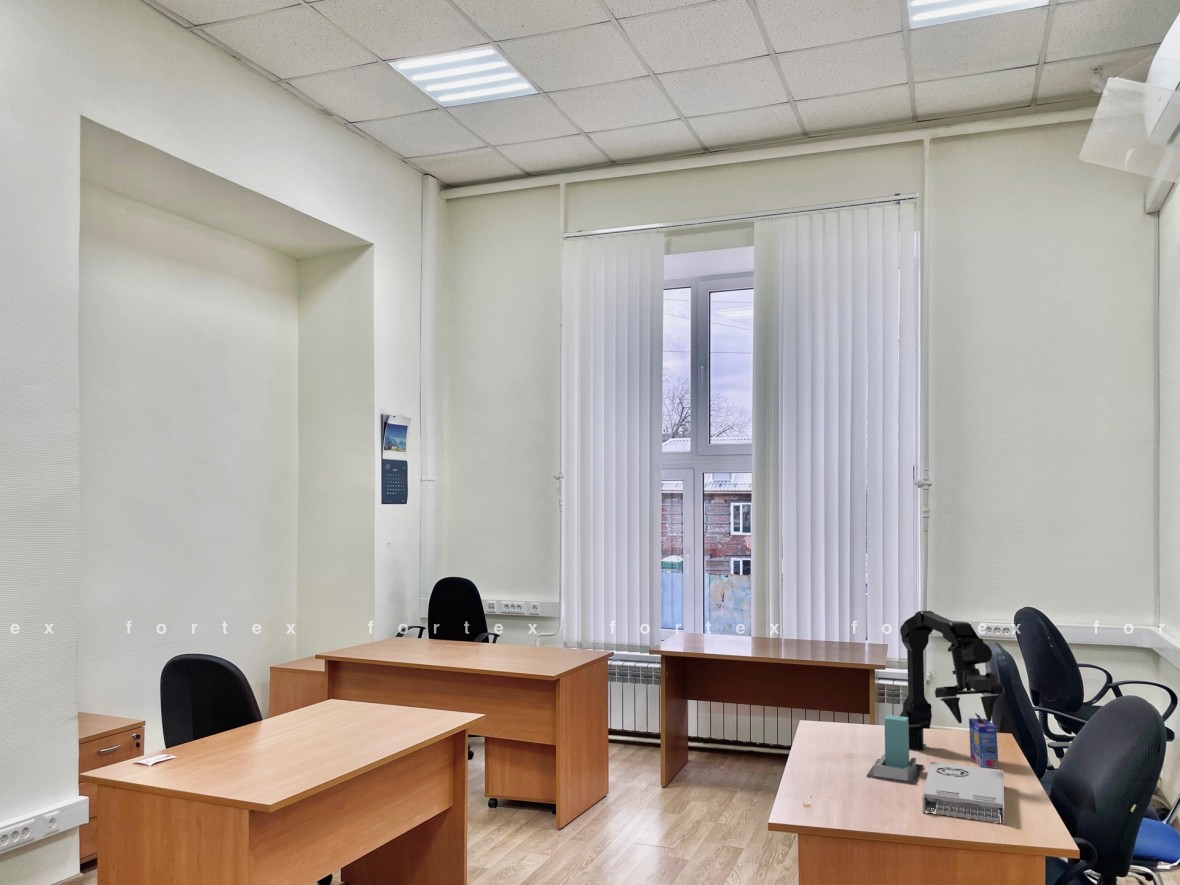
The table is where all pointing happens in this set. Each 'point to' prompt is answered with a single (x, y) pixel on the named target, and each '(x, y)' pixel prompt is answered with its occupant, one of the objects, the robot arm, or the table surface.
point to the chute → (896, 771)
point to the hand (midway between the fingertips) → (974, 722)
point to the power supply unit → (964, 792)
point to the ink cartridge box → (983, 742)
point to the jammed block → (896, 741)
